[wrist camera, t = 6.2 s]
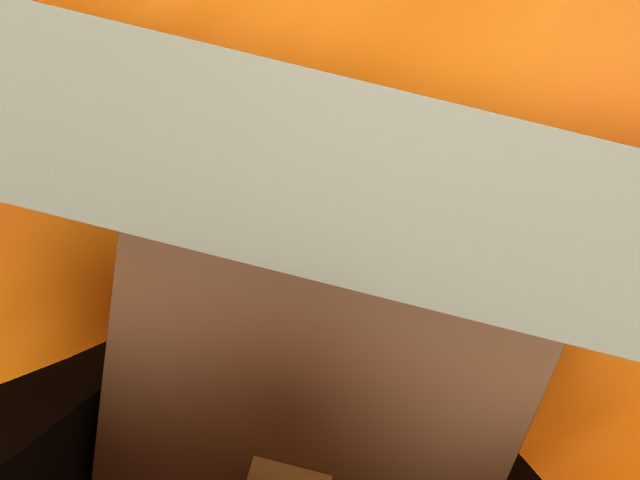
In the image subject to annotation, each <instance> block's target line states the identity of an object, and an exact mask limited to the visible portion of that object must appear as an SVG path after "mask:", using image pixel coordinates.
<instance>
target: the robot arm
mask: <svg viewBox="0 0 640 480" xmlns="http://www.w3.org/2000/svg"><path fill="white" fill-rule="evenodd" d="M105 351H106V342H104V343H102V344H99V345H97V346H95V347H92V348H90V349H88V350H86V351H83V352H81V353H79V354H76V355H74V356H72V357H70V358H67V359H65V360H62V361H60V362H57V363H54V364H52V365H49V366H47V367H44V368H42V369H39V370H36V371H34V372H31V373H29V374H26V375H23V376H21V377H18V378H16V379H13V380H11V381H8V382H5V383H2V384H0V480H91V479H92V470H93V461H94V452H95V443H96V433H97V424H98V415H99V406H100V397H101V387H102V378H103V369H104V360H105ZM507 480H542V479H541V478H540V477H539V476H538V475H537V474H536V473H535V471H534V470H533V469H532V468H531V467H530V466H529V465H528V463H527V462H526V461H525V460H524V459H523V458H522V457H521V455H520V454H519V453H518V455H517V457H516V459H515V462H514V464H513V466H512V468H511V471H510V473H509V475H508V478H507Z"/></svg>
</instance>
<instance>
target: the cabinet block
mask: <svg viewBox="0 0 640 480" xmlns="http://www.w3.org/2000/svg"><path fill="white" fill-rule="evenodd" d="M565 345H566V344H565V343H561V342H557V341H553V340H549V339H545V338H541V337H537V336H533V335H529V334H525V333H521V332H517V331H513V330H509V329H505V328H501V327H497V326H493V325H489V324H485V323H481V322H477V321H473V320H469V319H465V318H462V317H458V316H454V315H450V314H446V313H442V312H438V311H434V310H430V309H426V308H422V307H418V306H414V305H410V304H406V303H402V302H398V301H394V300H390V299H386V298H382V297H378V296H374V295H370V294H366V293H362V292H358V291H354V290H350V289H346V288H342V287H338V286H334V285H330V284H326V283H322V282H318V281H314V280H310V279H306V278H302V277H298V276H294V275H290V274H286V273H282V272H278V271H274V270H270V269H266V268H262V267H258V266H254V265H250V264H246V263H242V262H238V261H234V260H230V259H226V258H222V257H218V256H214V255H210V254H206V253H202V252H198V251H194V250H190V249H186V248H182V247H178V246H174V245H170V244H166V243H163V242H159V241H155V240H151V239H147V238H143V237H139V236H135V235H131V234H127V233H123V232H119V231H118V240H117V250H116V259H115V268H114V277H113V286H112V296H111V305H110V314H109V323H108V332H107V341H106V351H105V360H104V369H103V378H102V387H101V397H100V406H99V415H98V424H97V433H96V443H95V452H94V461H93V470H92V479H91V480H507V478H508V475H509V473H510V471H511V468H512V466H513V464H514V462H515V459H516V457H517V455H518V452H519V450H520V448H521V446H522V443H523V441H524V439H525V436H526V434H527V432H528V430H529V427H530V425H531V423H532V420H533V418H534V416H535V413H536V411H537V409H538V407H539V404H540V402H541V400H542V397H543V395H544V393H545V391H546V388H547V386H548V384H549V381H550V379H551V377H552V374H553V372H554V370H555V368H556V365H557V363H558V361H559V358H560V356H561V354H562V352H563V349H564V347H565Z"/></svg>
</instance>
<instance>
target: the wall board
mask: <svg viewBox="0 0 640 480" xmlns="http://www.w3.org/2000/svg"><path fill="white" fill-rule="evenodd" d="M0 202H3V203H7V204H11V205H15V206H19V207H23V208H27V209H31V210H35V211H39V212H43V213H47V214H51V215H55V216H59V217H63V218H67V219H71V220H75V221H79V222H83V223H87V224H91V225H95V226H99V227H103V228H107V229H111V230H115V231H119V232H123V233H127V234H131V235H135V236H139V237H143V238H147V239H151V240H155V241H159V242H163V243H166V244H170V245H174V246H178V247H182V248H186V249H190V250H194V251H198V252H202V253H206V254H210V255H214V256H218V257H222V258H226V259H230V260H234V261H238V262H242V263H246V264H250V265H254V266H258V267H262V268H266V269H270V270H274V271H278V272H282V273H286V274H290V275H294V276H298V277H302V278H306V279H310V280H314V281H318V282H322V283H326V284H330V285H334V286H338V287H342V288H346V289H350V290H354V291H358V292H362V293H366V294H370V295H374V296H378V297H382V298H386V299H390V300H394V301H398V302H402V303H406V304H410V305H414V306H418V307H422V308H426V309H430V310H434V311H438V312H442V313H446V314H450V315H454V316H458V317H462V318H465V319H469V320H473V321H477V322H481V323H485V324H489V325H493V326H497V327H501V328H505V329H509V330H513V331H517V332H521V333H525V334H529V335H533V336H537V337H541V338H545V339H549V340H553V341H557V342H561V343H565V344H569V345H573V346H577V347H581V348H585V349H589V350H593V351H597V352H601V353H605V354H609V355H613V356H617V357H621V358H625V359H629V360H633V361H637V362H640V148H637V147H633V146H629V145H625V144H621V143H617V142H612V141H608V140H604V139H600V138H596V137H592V136H588V135H584V134H579V133H575V132H571V131H567V130H563V129H559V128H555V127H551V126H547V125H542V124H538V123H534V122H530V121H526V120H522V119H518V118H514V117H509V116H505V115H501V114H497V113H493V112H489V111H485V110H481V109H476V108H472V107H468V106H464V105H460V104H456V103H452V102H448V101H443V100H439V99H435V98H431V97H427V96H423V95H419V94H415V93H410V92H406V91H402V90H398V89H394V88H390V87H386V86H382V85H378V84H373V83H369V82H365V81H361V80H357V79H353V78H349V77H345V76H340V75H336V74H332V73H328V72H324V71H320V70H316V69H312V68H307V67H303V66H299V65H295V64H291V63H287V62H283V61H279V60H274V59H270V58H266V57H262V56H258V55H254V54H250V53H246V52H241V51H237V50H233V49H229V48H225V47H221V46H217V45H213V44H209V43H204V42H200V41H196V40H192V39H188V38H184V37H180V36H176V35H171V34H167V33H163V32H159V31H155V30H151V29H147V28H143V27H138V26H134V25H130V24H126V23H122V22H118V21H114V20H110V19H105V18H101V17H97V16H93V15H89V14H85V13H81V12H77V11H73V10H68V9H64V8H60V7H56V6H52V5H48V4H44V3H40V2H35V1H31V0H0Z"/></svg>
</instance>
